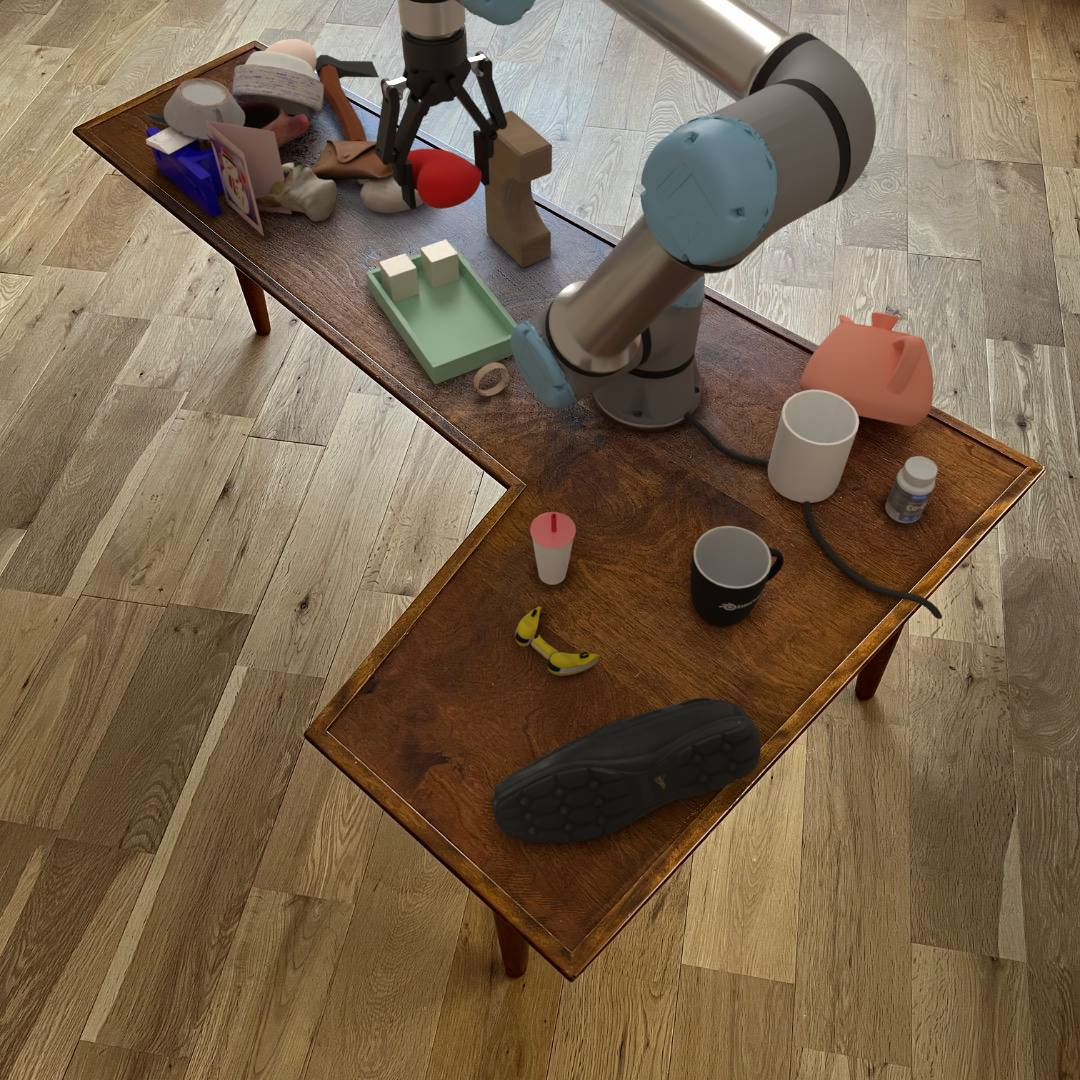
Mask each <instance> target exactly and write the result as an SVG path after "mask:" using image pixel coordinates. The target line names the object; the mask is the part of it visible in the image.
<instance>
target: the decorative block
mask: <svg viewBox="0 0 1080 1080" xmlns="http://www.w3.org/2000/svg"><path fill="white" fill-rule="evenodd" d="M504 114H505V117H506V120H507V127H506V128H505V129H499V130H497V131H496V133H497V134H498V137H497V139H496V140H495V141H494V155H493V157H492V158H489V180H490V184H489V185H486V186H484V199H485V200H484V201H485V222H486V223H485V224H486V233H487V234H488V235H489V236H490V237H491V238H492V239H493V240H494V242H496V243H497V244H498V245H499V246H500V247H501V248H502V249H503V250H504V251H505V252H506V253H507V254H508V255H509V256H510V257H511V258H512V259H513V260H514V261H515V262H516V263H517V264H518V265H519V266H520V267H521V268H523V269H524V268H526V267H529V266H531V265H534V264H536V263H538V262H540V261H543V260H545V259H547V258H550V257H551V254H552V233H551V230H550V229H549V228H548V227H547V226H546V224H545V223H544V222H543V219H542V217H541V215H540V213H539V212H538V209H537V206H536V203H535V200H534V197H533V191H532V181H535V180H537V179H540V178H542V177H544V176H547V175H551V173H552V170H553V145H552V143H550V141H548V140H547V139H546V138H545V137H543V136H542V135H541V134H540V133H539V132H537V131H536V129H534V128H533V127H532V126H531V125H530V124H528V123H527V122H526V121H525V120H523V119H522V117H520V116H519V115H518V114H517V113H516V112H515V111H514V110H509V111H505V112H504Z"/></svg>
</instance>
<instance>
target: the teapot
mask: <svg viewBox="0 0 1080 1080" xmlns="http://www.w3.org/2000/svg"><path fill="white" fill-rule="evenodd" d="M838 318H839V324H838V325H836V327H834V328H833V330H831V332H830V333H829V334H828V335H827V336H826V337H825V338H824V340H823V341H822V342H821V343H820V344H819V345H818V346H817V348H816V349H815V350H814V352H813V354H812V355H811V356H810V358H809V359H808V361H807V363H806V366H805V368H804V370H803V372H802V374H801V378H800V381H799V388H800V392H802V391H807V390H823V391H827V392H832V393H834V394H836V395H839V396H841V397H842V398H844V399H845V400H847V401H848V402H849V403H850V404H851V405H852V406H853V407H854V408H855V410H856V412H857V414H858V417H863V418H869V419H873V420H878V421H882V422H888V423H892V424H897V425H902V426H908V427H915V426H916V425H918V424H919V423H921V421H923V420H924V419H925V418H926V417H927V416H928V415H929V414H930V412H931V410H932V405H933V399H934V375H933V370H932V364H931V361H930V357H929V353H928V348H927V345H926V342H925V340H924V339H923V337H920V336H919V335H913V334H910V333H905V332H899V331H896V330H893V329H894V328H895V326H896V325H897V323H898V321H899V319H900V317H898V316H897V315H894V314H891V313H886V312H879V311H874V312H871V324H872V325H865V324H861V323H854V320H852V318H850V317H848V316H846V315H844V314H839V316H838Z"/></svg>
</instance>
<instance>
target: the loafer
mask: <svg viewBox="0 0 1080 1080" xmlns="http://www.w3.org/2000/svg"><path fill="white" fill-rule="evenodd" d="M761 744H762V743H761V736H760V733H759V730H758V727H756V724H755V722H754V721H753V720H752V718H751V717H750V715H749V714H748V713H747V711H745V709H744V708H743V707H742V706H740V705H739V704H737V703H732V702H730V701H727V700H723V699H717V698H710V697H696V698H689V699H686V700H684V701H681V702H679V703H674V704H670V705H666V706H663V707H659V708H656V709H652V710H648V711H646V712H642V713H640V714H635V715H633V716H631V717H627V718H625V719H622V716H618V717H617V718H616V719H615V720H613V721H610V722H609V723H607V724H605V725H603V726H601V727H598V728H596V729H594V730H591V731H589V732H587V733H585V734H583V735H582V736H579V737H578V738H575V739H573V740H570V741H568V742H567V743H564V744H562V745H561V746H559V747H556V748H555V749H553V750H551V751H550V752H548V753H545V754H543V755H542V756H540V757H539V758H537V759H535V760H533V761H532V762H530V763H528V764H527V765H525V766H524V767H521V769H518V770H517V771H515V772H514V773H511V774H510V775H509V776H507V777H506V778H505V779H504V780H502V781H500V782H498V783H497V785H496V786H495V787H494V790H493V792H492V796H491V807H492V813H493V817H494V821H495V824H496V825H497V827H498V829H499V830H500V832H501V833H502V834H505V835H506V836H507V837H509V838H512V839H515V840H519V841H523V842H529V843H536V844H538V843H539V844H571V843H575V842H577V843H578V842H583V841H590V840H594V839H599V838H602V837H607V836H609V835H611V834H613V833H615V832H617V831H619V830H621V829H623V828H625V827H627V826H629V825H631V824H633V823H634V822H636V821H637V820H639V819H641V818H642V817H644V816H646V815H647V814H649V813H650V812H652V811H655V810H657V809H659V808H661V807H663V806H665V805H667V804H670V803H672V802H674V801H678V800H680V799H686V798H692V797H700V796H702V795H703V796H704V795H705V794H706V793H712V792H714V791H718V790H720V789H722V788H724V787H727V786H729V785H732V784H734V783H735V781H737V780H741V779H744V778H745V777H747V776H749V774H751V773H752V772H753V771H754V770H755V769H756V768H757V766H758V764H759V763H760V759H761V752H762V750H761Z"/></svg>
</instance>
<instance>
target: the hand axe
mask: <svg viewBox="0 0 1080 1080" xmlns="http://www.w3.org/2000/svg"><path fill="white" fill-rule="evenodd" d="M316 60H317V61H316V68H315V71H316V74H317V77H318V78H319V81H320V82H321V83H322V84H323V85H324V94H323V99H324V100H325V102H326V103H327V105H328V106H329V108H330V109H331V110H332V112H333V113H334V115H335V117H336V119H337V121H338V123H339V126H340V128H341V131H342V135H343V137H344V140H345V141H367V135H366V133H365V129H364V128H365V127H363V124H362V121H361V120H360V118H359V116H358V114H357V113H356V111H355V109H354V108H353V106H352V104H351V102H350V100H349V98H348V97H347V95H346V93H345V91H344V89H343V87H342V83H341V80H340V79H342V78H379V77H380V76H379V74H378V72H377V69H376V67H375V65H374V62H373V61H372V60H368V61H367V60H340V59H338V58H335V57H333V56H330V55H329V54H320V55H319V56H318V57H316Z"/></svg>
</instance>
